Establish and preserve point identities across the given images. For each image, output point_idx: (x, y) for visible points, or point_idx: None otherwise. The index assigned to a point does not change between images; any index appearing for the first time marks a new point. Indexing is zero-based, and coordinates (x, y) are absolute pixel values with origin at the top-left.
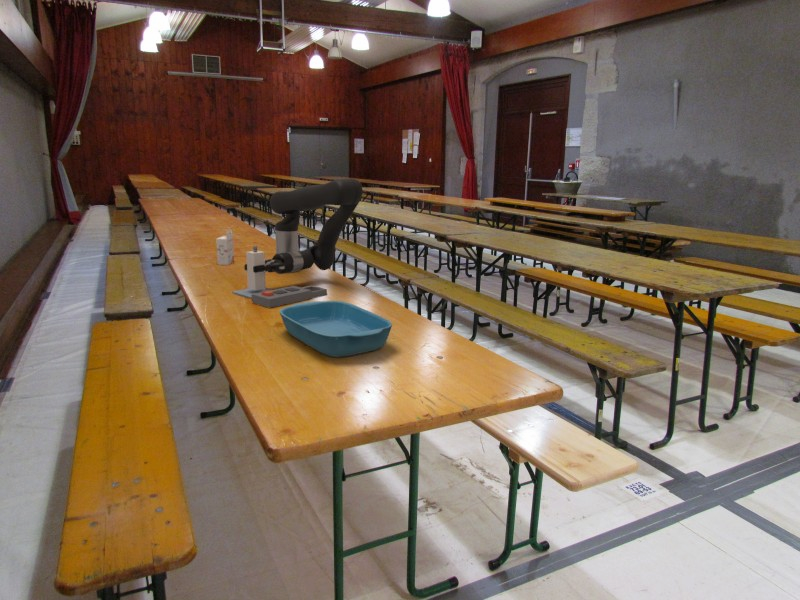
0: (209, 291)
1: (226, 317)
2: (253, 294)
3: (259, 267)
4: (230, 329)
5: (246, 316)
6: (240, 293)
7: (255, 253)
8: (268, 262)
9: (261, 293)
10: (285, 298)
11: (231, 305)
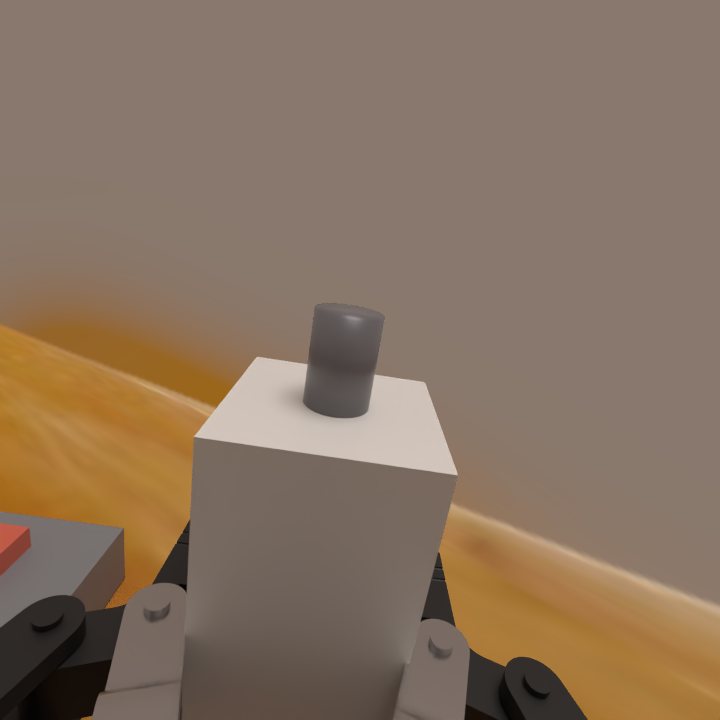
0: (564, 618)
1: (115, 417)
2: (102, 526)
3: (183, 531)
4: (35, 373)
5: (34, 440)
6: None
7: (252, 366)
8: (137, 689)
9: (50, 568)
10: None
11: None
